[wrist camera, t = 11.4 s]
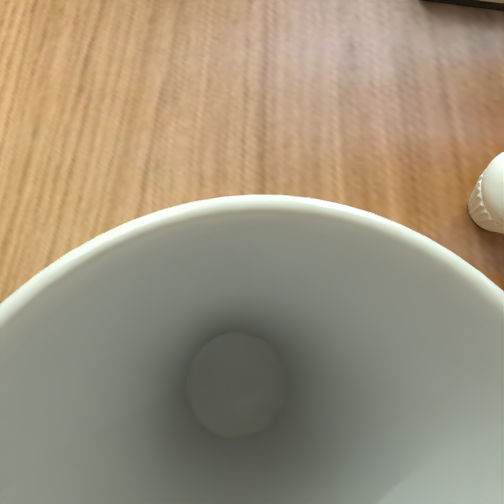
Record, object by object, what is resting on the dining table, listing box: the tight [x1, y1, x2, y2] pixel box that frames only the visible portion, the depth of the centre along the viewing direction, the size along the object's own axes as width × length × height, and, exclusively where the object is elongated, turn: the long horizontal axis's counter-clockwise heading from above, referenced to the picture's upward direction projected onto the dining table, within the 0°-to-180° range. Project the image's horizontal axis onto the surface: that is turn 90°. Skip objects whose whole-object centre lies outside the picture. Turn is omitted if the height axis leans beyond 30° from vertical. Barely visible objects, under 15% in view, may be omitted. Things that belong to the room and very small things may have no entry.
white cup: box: [0, 195, 504, 504], centre depth 9 cm, size 7×7×15 cm
